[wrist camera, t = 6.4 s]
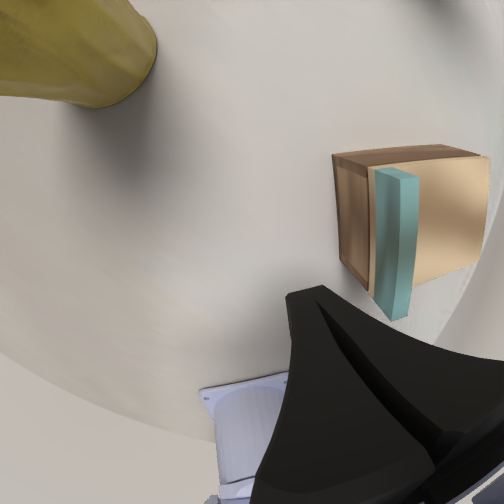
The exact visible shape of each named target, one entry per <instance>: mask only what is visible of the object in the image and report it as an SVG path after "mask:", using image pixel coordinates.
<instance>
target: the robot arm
mask: <svg viewBox="0 0 504 504" xmlns="http://www.w3.org/2000/svg"><path fill="white" fill-rule="evenodd" d="M285 299H286V306H287V314H288V321H289V329H290V336H291V340H292V345H291V359H290V367H289V372H284V373H280V374H276V375H272V376H268V377H263V378H259V379H254V380H250V381H245V382H240V383H235V384H230V385H224V386H219V387H213V388H207V389H202V390H200V391H199V396H200V398H201V400H202V402H203V403H204V405H205V407H206V409H207V410H208V412H209V414H210V416H211V417H212V419H213V421H214V426H215V438H216V449H217V459H218V469H219V479H220V485H219V493H220V499H219V498H218V495H211V496H210V497H209V499H207V500H206V501H205V503H204V504H455V503H456V502H458V501H459V500H461V499H462V498H464V497H465V496H466V495H468V494H469V493H471V492H472V491H474V490H475V489H476V488H477V487H479V486H480V485H482V484H483V483H484V482H485V481H487V480H488V479H489V478H490V477H492V476H493V475H494V474H495V473H496V472H498V471H499V470H500V469H501V468H502V467H504V361H500V360H492V359H484V358H478V357H474V356H469V355H464V354H460V353H456V352H452V351H449V350H446V349H443V348H439V347H436V346H433V345H430V344H428V343H425V342H422V341H420V340H417V339H415V338H413V337H410V336H408V335H406V334H404V333H401V332H399V331H397V330H395V329H393V328H391V327H389V326H387V325H385V324H384V323H382V322H380V321H378V320H376V319H375V318H373V317H371V316H369V315H368V314H366V313H365V312H363V311H361V310H360V309H358V308H357V307H355V306H353V305H352V304H350V303H349V302H347V301H346V300H344V299H343V298H342V297H340V296H339V295H337V294H336V293H334V292H333V291H331V290H330V289H328V288H327V287H325V286H324V285H320V286H316V287H312V288H308V289H304V290H300V291H296V292H292V293H288V294H287V296H286V297H285ZM472 502H473V504H504V473H503V474H502V475H500V476H499V477H498V478H496V479H495V480H494V481H493V482H491V483H490V484H489V485H487V486H486V487H485V488H483V489H482V490H481V491H480V492H479V493H477V494H476V495H475V496H474V497H473V498H472Z"/></svg>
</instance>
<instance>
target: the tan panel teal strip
mask: <svg viewBox="0 0 504 504" xmlns="http://www.w3.org/2000/svg"><path fill="white" fill-rule="evenodd" d="M368 180H369V201H370V273H369V295H370V296H371V297H372V299H373V300H374V301H375V302H376V304H377V305H378V306H379V307H380V309H381V310H382V311H383V312H384V314H385V315H386V316H387V317H388V319H389V320H390V321H391V322H392V321H395V320H398V319H400V318H403V317H405V316H407V314H408V308H409V303H410V296H411V290H412V287H413V286H416V285H418V284H421V283H424V282H427V281H429V280H432V279H435V278H437V277H440V276H443V275H445V274H448V273H450V272H453V271H455V270H458V269H460V268H463V267H465V266H468V265H470V264H473V263H475V262H477V261H479V258H480V253H481V248H482V242H483V236H484V230H485V223H486V215H487V206H488V196H489V182H490V158H489V157H486V156H472V157H457V158H444V159H433V160H423V161H413V162H404V163H395V164H387V165H379V166H371V167H368Z"/></svg>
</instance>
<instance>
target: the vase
mask: <svg viewBox="0 0 504 504" xmlns="http://www.w3.org/2000/svg"><path fill="white" fill-rule="evenodd" d="M155 55H156V36H155V33H154V31H153V29H152V27H151V25H150V24H149V22H148V21H147V20H146V19H145V17H143V16H141V15H140V14H139V13H138V12H137V11H136V10H135V9H134V7H133V6H132V5H131V3H130V2H129V1H128V0H0V96H15V97H29V98H39V99H45V100H54V101H63V102H70V103H73V104H75V105H77V106H81V107H87V108H102V107H107V106H110V105H113V104H115V103H117V102H120V101H121V100H123V99H124V98H126V97H127V96H129V95H130V94H131V93H132V92H133V91H135V90H136V89H137V88H138V87H139V86H140V84H141V83H142V82H143V81H144V79H145V78H146V76H147V74H148V72H149V71H150V69H151V67H152V65H153V62H154V60H155Z"/></svg>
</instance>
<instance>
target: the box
mask: <svg viewBox="0 0 504 504" xmlns="http://www.w3.org/2000/svg"><path fill="white" fill-rule="evenodd" d="M472 156H481V155H479V154H476V153H472V152H469V151H465V150H461V149H458V148H454V147H450V146H445V145H441V144H439V145H421V146H406V147H394V148H383V149H373V150H364V151H355V152H347V153H339V154H332V160H333V170H334V180H335V191H336V203H337V216H338V232H339V253H340V260H341V261H342V262H343V264H344V265H345V266H346V267H347V268H348V269H349V271H350V272H351V273H352V274H353V275H354V276H355V278H356V279H357V280H358V281H359V282H360V283H361V285H362V286H363V287H364V288H365V289H366V291H368V290H369V273H370V201H369V180H368V167H371V166H379V165H387V164H395V163H404V162H413V161H423V160H433V159H444V158H457V157H472Z"/></svg>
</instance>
